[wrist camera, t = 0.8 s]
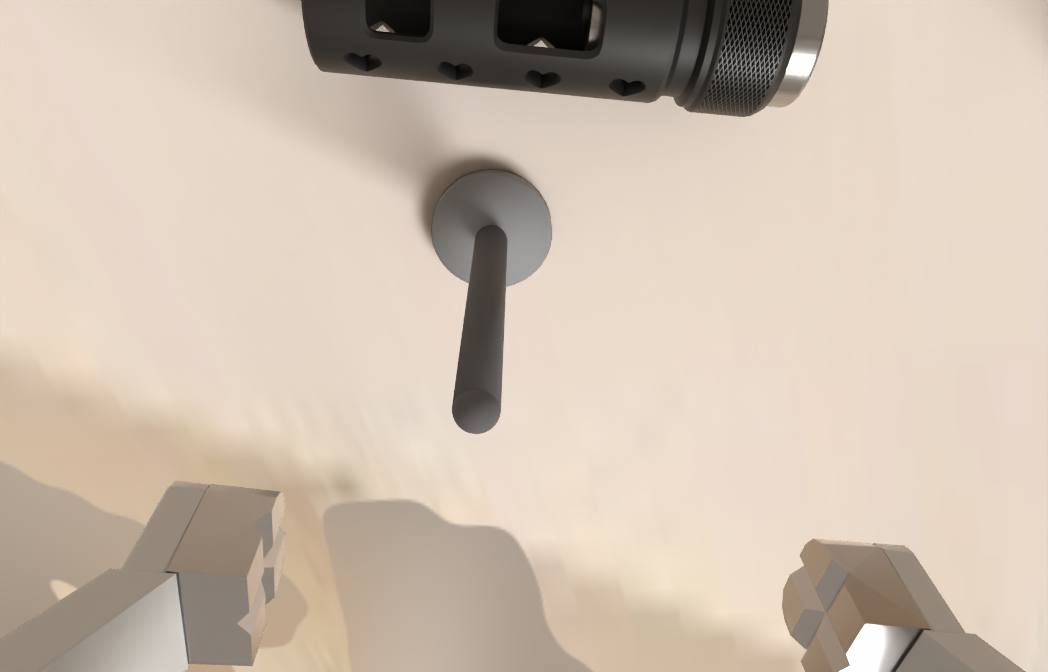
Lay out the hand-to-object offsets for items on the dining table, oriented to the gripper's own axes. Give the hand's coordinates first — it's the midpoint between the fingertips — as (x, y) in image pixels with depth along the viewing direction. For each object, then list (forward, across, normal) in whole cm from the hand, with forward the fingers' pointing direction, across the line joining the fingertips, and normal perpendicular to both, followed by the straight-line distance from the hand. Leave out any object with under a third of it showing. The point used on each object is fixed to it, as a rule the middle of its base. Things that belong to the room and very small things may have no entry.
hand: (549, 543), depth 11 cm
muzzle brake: (+43, -3, -4) cm, 43 cm away
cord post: (+43, -1, +13) cm, 45 cm away
